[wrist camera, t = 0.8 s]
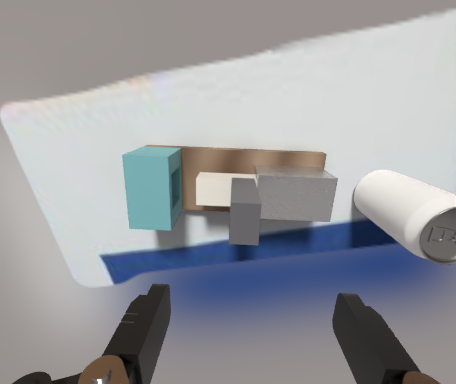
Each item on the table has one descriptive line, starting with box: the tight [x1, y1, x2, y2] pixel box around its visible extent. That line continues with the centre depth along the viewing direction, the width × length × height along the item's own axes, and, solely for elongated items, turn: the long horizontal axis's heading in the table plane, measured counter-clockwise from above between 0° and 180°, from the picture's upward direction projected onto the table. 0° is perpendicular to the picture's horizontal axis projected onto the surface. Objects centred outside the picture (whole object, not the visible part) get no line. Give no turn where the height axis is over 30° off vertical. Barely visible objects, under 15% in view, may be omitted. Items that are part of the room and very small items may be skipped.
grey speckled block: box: [254, 164, 338, 222], centre depth 28 cm, size 8×5×5 cm, turn 88°
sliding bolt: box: [196, 172, 262, 245], centre depth 24 cm, size 14×4×10 cm, turn 88°
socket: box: [122, 147, 182, 231], centre depth 28 cm, size 4×8×6 cm, turn 178°
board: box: [144, 145, 326, 212], centre depth 31 cm, size 22×8×2 cm, turn 88°
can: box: [354, 170, 456, 265], centre depth 27 cm, size 6×6×12 cm
